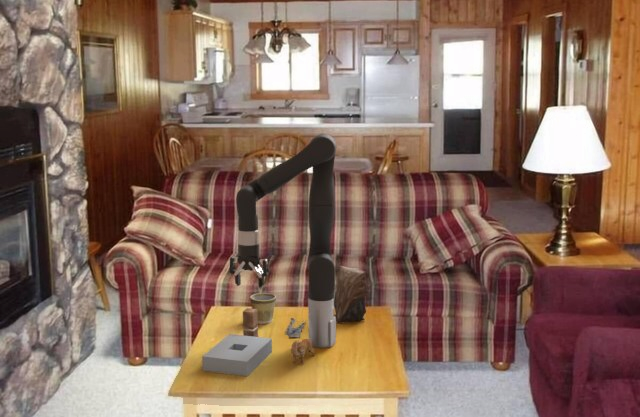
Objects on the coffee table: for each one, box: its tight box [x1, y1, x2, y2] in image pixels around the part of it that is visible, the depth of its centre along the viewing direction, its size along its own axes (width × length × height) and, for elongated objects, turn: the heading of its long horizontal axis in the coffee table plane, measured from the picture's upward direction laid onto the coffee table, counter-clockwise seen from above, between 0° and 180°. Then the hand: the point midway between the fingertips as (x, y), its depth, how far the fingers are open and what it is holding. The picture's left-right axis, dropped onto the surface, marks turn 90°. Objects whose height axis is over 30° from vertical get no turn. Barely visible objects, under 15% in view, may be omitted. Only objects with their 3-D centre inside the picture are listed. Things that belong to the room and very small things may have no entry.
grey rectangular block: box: [201, 333, 273, 377], centre depth 267 cm, size 16×22×5 cm
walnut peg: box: [242, 307, 259, 337], centre depth 284 cm, size 4×4×12 cm
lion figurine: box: [290, 338, 315, 365], centre depth 267 cm, size 15×5×9 cm, turn 163°
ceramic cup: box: [249, 292, 277, 325], centre depth 308 cm, size 13×10×10 cm
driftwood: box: [284, 317, 306, 339], centre depth 299 cm, size 21×7×2 cm, turn 172°
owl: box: [334, 265, 368, 324], centre depth 309 cm, size 13×13×20 cm
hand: (249, 286), depth 281 cm, fingers open, 8 cm apart
